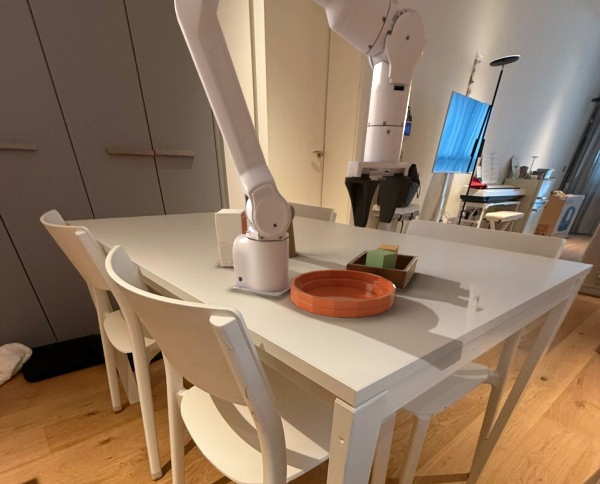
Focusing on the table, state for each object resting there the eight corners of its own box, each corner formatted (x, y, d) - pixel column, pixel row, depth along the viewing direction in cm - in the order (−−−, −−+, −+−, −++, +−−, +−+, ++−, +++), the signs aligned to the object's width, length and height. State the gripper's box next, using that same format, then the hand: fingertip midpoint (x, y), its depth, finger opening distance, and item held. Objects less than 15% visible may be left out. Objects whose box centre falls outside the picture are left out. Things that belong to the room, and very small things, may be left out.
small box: (245, 267, 74) (241, 213, 68) (219, 267, 74) (213, 212, 68) (250, 258, 80) (246, 208, 74) (226, 258, 80) (221, 208, 74)
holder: (344, 282, 66) (346, 263, 64) (363, 267, 76) (365, 250, 74) (402, 291, 63) (406, 271, 60) (414, 273, 72) (418, 256, 70)
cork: (293, 257, 82) (293, 206, 76) (269, 256, 83) (267, 205, 76) (298, 252, 87) (299, 203, 80) (275, 250, 88) (274, 202, 81)
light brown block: (373, 273, 70) (377, 247, 67) (378, 268, 73) (382, 243, 70) (390, 276, 69) (394, 249, 66) (394, 270, 72) (399, 245, 69)
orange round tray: (273, 308, 54) (272, 290, 52) (313, 280, 67) (314, 265, 65) (377, 328, 49) (381, 308, 47) (400, 294, 61) (403, 277, 60)
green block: (380, 282, 65) (384, 255, 62) (363, 277, 68) (367, 250, 65) (392, 280, 66) (397, 253, 63) (376, 274, 69) (380, 248, 66)
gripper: (390, 131, 59) (377, 218, 67) (335, 125, 50) (329, 225, 58) (426, 129, 55) (409, 222, 63) (374, 123, 46) (361, 231, 54)
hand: (372, 224), depth 60 cm, fingers open, 7 cm apart
